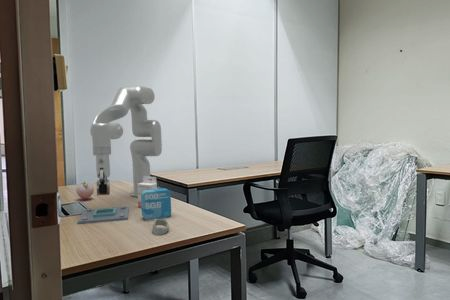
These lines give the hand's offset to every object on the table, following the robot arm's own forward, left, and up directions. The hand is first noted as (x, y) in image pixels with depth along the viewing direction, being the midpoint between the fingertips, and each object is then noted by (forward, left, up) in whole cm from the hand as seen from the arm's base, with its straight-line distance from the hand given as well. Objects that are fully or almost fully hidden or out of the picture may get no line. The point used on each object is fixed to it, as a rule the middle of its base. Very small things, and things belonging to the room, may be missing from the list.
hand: (103, 191), depth 153 cm
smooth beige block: (0, 0, -1) cm, 1 cm away
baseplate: (0, 0, -11) cm, 11 cm away
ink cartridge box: (-19, -10, -11) cm, 24 cm away
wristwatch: (-23, +30, -11) cm, 39 cm away
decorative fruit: (+13, -38, -11) cm, 42 cm away
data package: (-22, +10, -11) cm, 27 cm away
